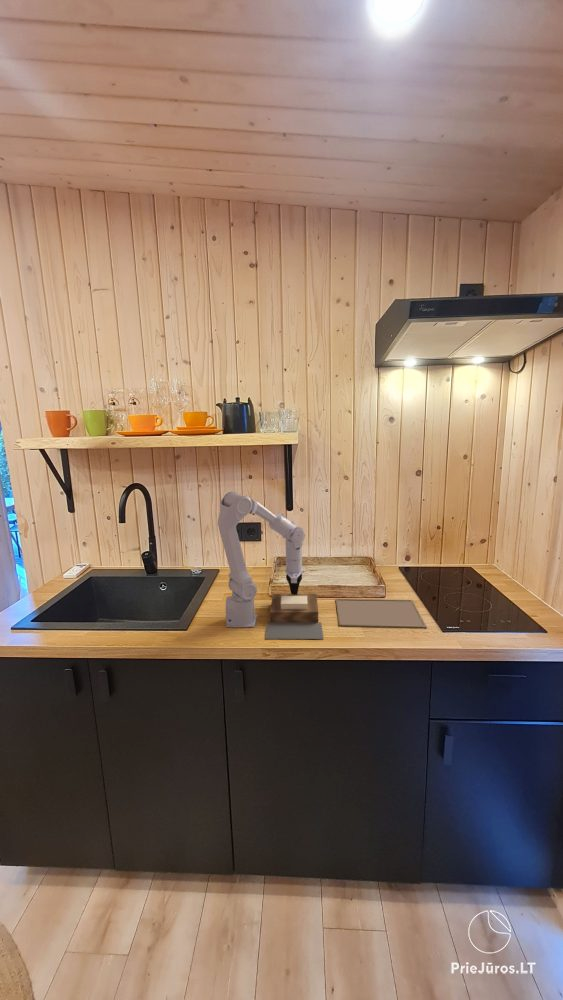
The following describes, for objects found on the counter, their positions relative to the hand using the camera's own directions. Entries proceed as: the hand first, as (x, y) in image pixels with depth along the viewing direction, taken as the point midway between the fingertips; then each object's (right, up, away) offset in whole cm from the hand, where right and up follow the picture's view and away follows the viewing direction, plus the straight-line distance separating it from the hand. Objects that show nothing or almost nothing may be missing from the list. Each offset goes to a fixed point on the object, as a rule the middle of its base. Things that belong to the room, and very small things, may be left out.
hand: (294, 593), depth 146 cm
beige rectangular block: (0, -2, -7) cm, 8 cm away
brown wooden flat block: (0, -6, -4) cm, 7 cm away
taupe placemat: (+29, -6, -5) cm, 30 cm away
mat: (-1, -8, -16) cm, 18 cm away
